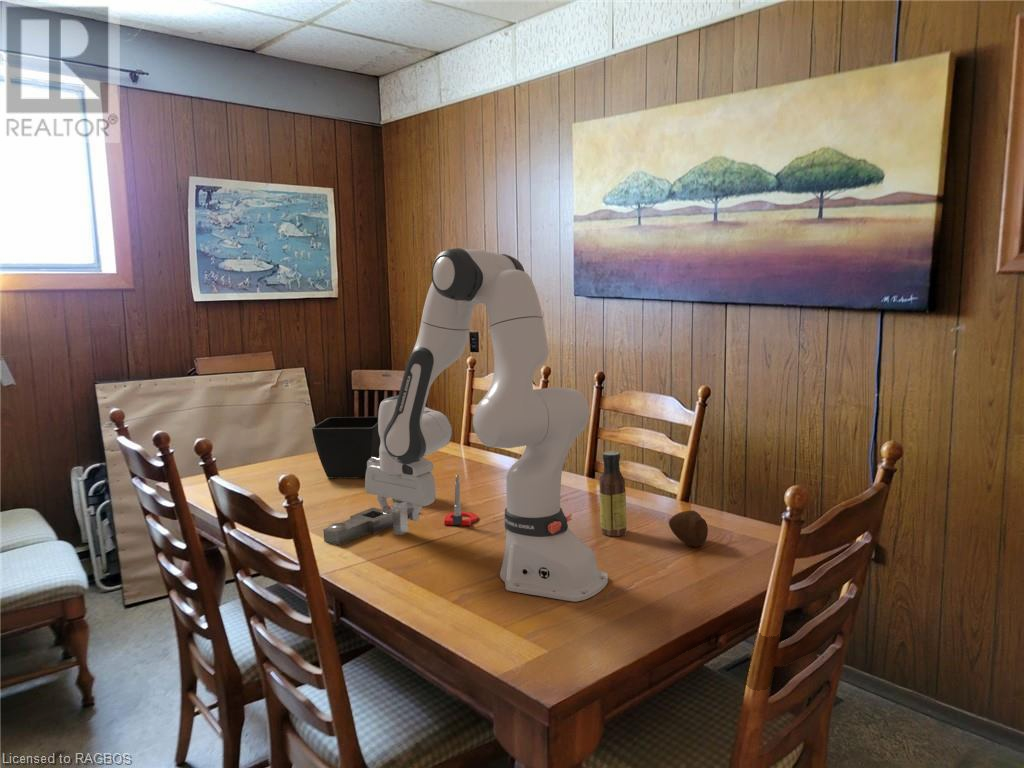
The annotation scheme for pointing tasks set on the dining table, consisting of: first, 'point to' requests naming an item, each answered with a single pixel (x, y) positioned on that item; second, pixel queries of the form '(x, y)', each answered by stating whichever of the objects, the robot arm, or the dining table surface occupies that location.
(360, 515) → the bar
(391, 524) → the chain end
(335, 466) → the flower pot
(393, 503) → the pin
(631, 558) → the dining table surface
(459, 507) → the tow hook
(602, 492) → the sauce bottle
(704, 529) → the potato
